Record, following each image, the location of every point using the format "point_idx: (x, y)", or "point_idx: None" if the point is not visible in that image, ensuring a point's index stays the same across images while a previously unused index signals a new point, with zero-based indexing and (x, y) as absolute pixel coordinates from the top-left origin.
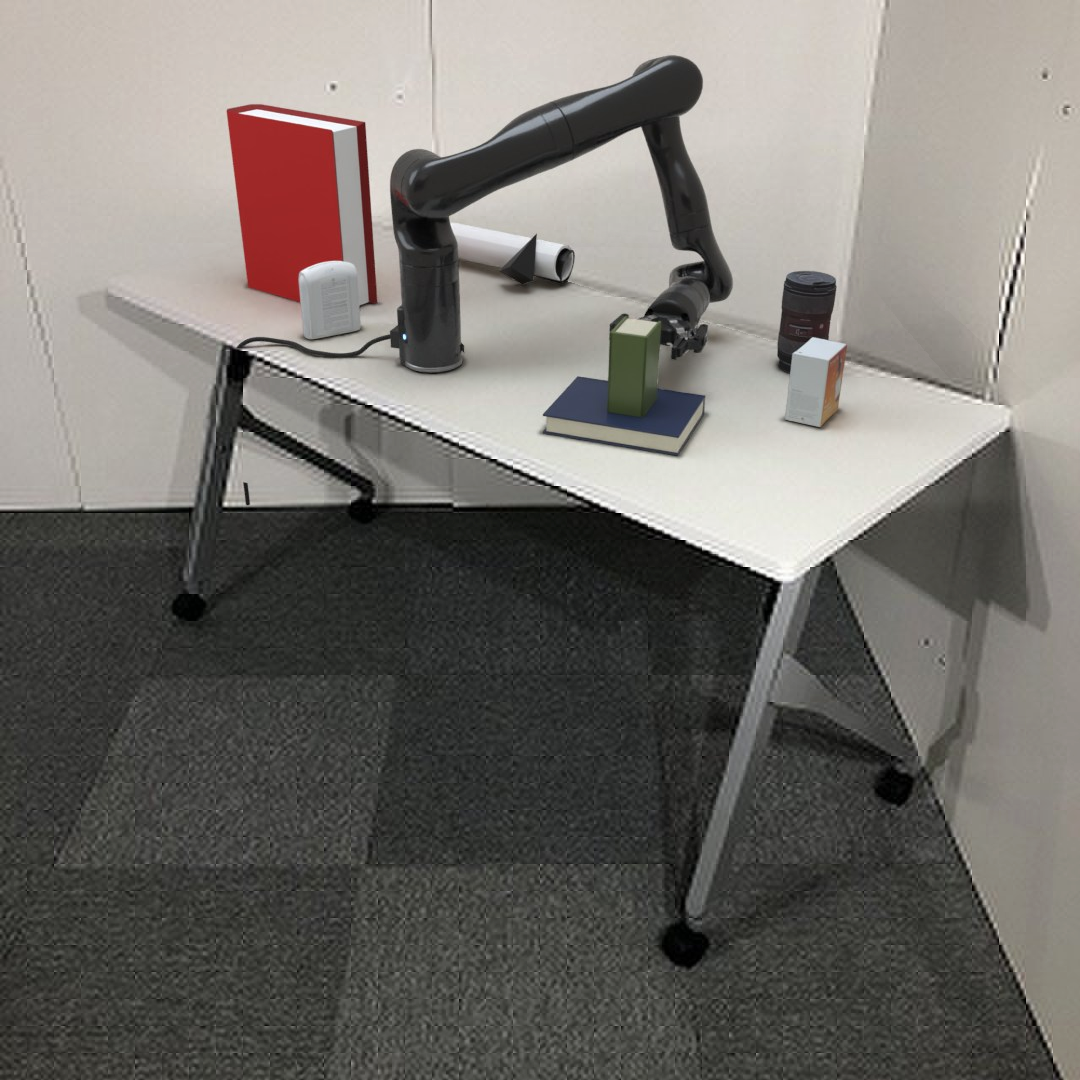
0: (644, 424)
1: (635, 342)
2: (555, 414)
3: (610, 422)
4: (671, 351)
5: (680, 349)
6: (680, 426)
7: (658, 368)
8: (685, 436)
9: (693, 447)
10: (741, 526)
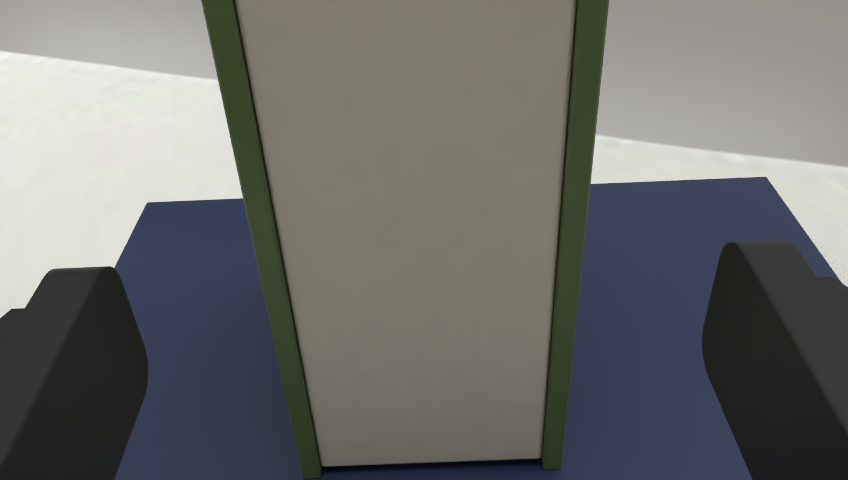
0: None
1: None
2: (717, 188)
3: None
4: (126, 295)
5: (16, 313)
6: (138, 261)
7: (264, 297)
8: None
9: None
10: (5, 90)
